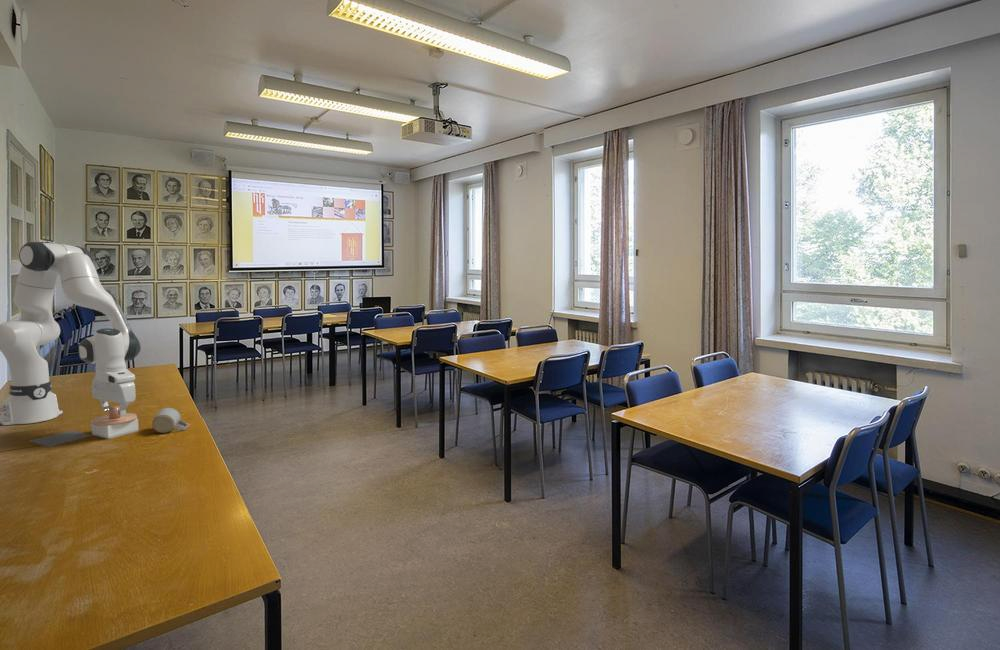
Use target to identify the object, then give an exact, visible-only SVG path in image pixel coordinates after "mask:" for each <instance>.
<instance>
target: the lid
mask: <svg viewBox="0 0 1000 650" xmlns="http://www.w3.org/2000/svg"><path fill="white" fill-rule="evenodd" d="M119 409H120V406H119V405H112V406H110V407H109V408H108V410H109V411H108V414H106V415H101V416H97V417H94V418H93V419H92V420H91V422H92V424H93V425H98V426H107V425H117V424H122V423H127V422H130V421H133V420H135V419H136V418H138V417H137V415H138V414H136V413H132V412H126V414H125V415H119V414H118V410H119Z"/></svg>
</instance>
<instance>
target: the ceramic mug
mask: <svg viewBox="0 0 1000 650" xmlns="http://www.w3.org/2000/svg"><path fill="white" fill-rule="evenodd" d="M188 425H189V424H188V423H187V422H186V421H184V420H182V419H181V414H180V413H179V411H178V410H176V409H175V408H172V407H165V408H161V410H159V411H158V413H156V415H155V417H154V418H153V420H152V428H153V430H154V431H156V433H160V434H167V433H170V432H171V431H172V430H176V431H177V430H178V431H186V430H187V429H188Z"/></svg>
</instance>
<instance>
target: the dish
mask: <svg viewBox="0 0 1000 650" xmlns="http://www.w3.org/2000/svg"><path fill="white" fill-rule="evenodd" d="M90 426H91V435H92V436H94V437H99V438H103V439H107V440H111V439H114V438H118V437H122V436H126V435H130V434H132V433H133V434H134V433H136V432H139V431H140V430H139V418H138V417H137V418H136V419H135V420H133V421H130V422H127V423H122V424H117V425H107V426H98V425H93V424H92V421H91V422H90Z"/></svg>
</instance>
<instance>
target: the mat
mask: <svg viewBox="0 0 1000 650" xmlns="http://www.w3.org/2000/svg"><path fill="white" fill-rule="evenodd" d="M90 437H93V435H92V434H89V433H83V432H80V431H78V430H77V431H76V430H67V431H63V432H59V433H55V434H54V433H53V434H51V435H47V436H43V437H39V438H34V439H30V440H28V442H30V443H34V444H37V445H41V446H42V447H43V446H44V447H47V448H51V447H54V446H58V445H63V444H66V443H70V442H73V441H78V440H81V439H86V438H90Z"/></svg>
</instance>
